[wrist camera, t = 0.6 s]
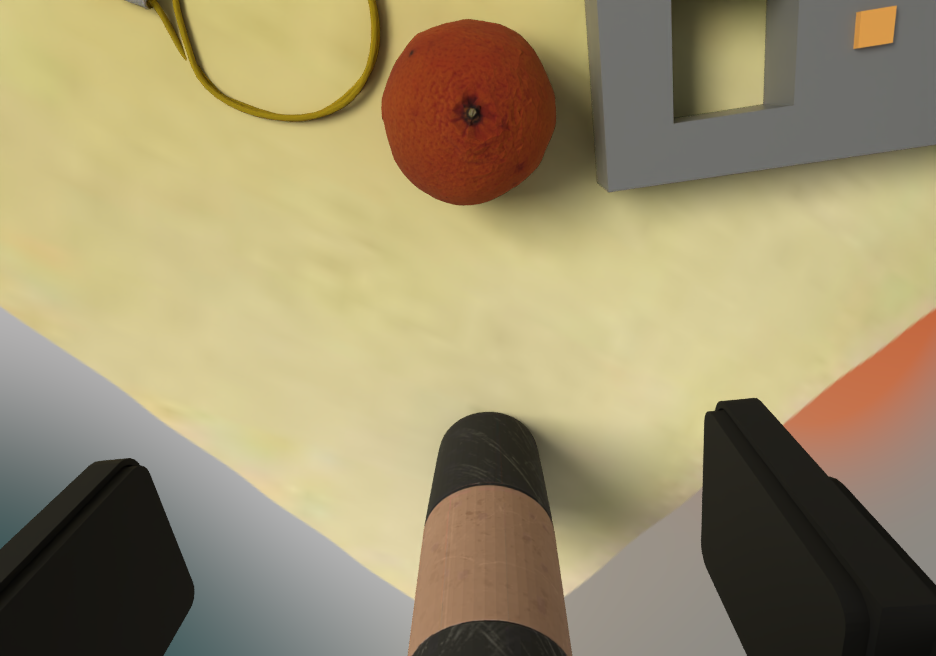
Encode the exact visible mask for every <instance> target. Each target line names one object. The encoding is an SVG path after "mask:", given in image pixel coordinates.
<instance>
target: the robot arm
mask: <svg viewBox="0 0 936 656" xmlns="http://www.w3.org/2000/svg"><path fill="white" fill-rule="evenodd" d="M701 548H702V554H703V559H704V563H705V565H706V568H707V570H708V573H709V575H710V577H711V579H712V581H713V583H714V586H715V588H716V590H717V592H718V594H719V596H720V598H721V601H722V603H723V605H724V607H725V609H726V611H727V613H728V615H729V618H730V620H731V622H732V624H733V626H734V628H735V631H736V633H737V635H738V637H739V639H740V641H741V643H742V646H743V648H744V650H745V652H746V654H747V656H936V585H935V584H934V583H933V581H932V580H930V578H929V577H928V576H927V575H926V574H925V573H924V572H923V571H922V570H921V568H920V567H919V566H918V565H917V564H916V563H915V562H914V561H913V560H912V559H911V558H910V557H909V555H908V554H907V553H906V552H905V551H904V550H903V549H902V548H901V547H900V545H899V544H898V543H897V542H896V541H895V540H894V539H893V538H892V537H891V536H890V535H889V533H888V532H887V531H886V530H885V529H884V528H883V527H882V526H881V525H880V524H879V523H878V521H877V520H876V519H875V518H874V517H873V516H872V515H871V514H870V513H869V512H868V511H867V509H866V508H865V507H864V506H863V505H862V504H861V503H860V502H859V501H858V500H857V499H856V498H855V496H854V495H853V494H852V493H851V492H850V491H849V490H848V489H847V488H846V487H845V486H844V485H843V484H842V483H841V482H840V481H838V480H837V479H835V478H832V477H828V476H827V474H826V473H825V472H824V471H823V470H822V469H821V468H820V467H819V466H818V464H817V463H816V462H815V461H814V460H813V459H812V458H811V457H810V455H809V454H808V453H807V452H806V451H805V450H804V449H803V448H802V447H801V445H800V444H799V443H798V442H797V441H796V440H795V439H794V438H793V436H791V434H790V433H789V432H788V431H787V430H786V429H785V428H784V426H783V425H782V424H781V423H780V422H779V421H778V420H777V419H776V417H775V416H774V415H773V414H772V413H771V412H770V411H769V410H768V409H767V407H766V406H765V405H764V404H763V403H762V402H761V401H760V400H759V399H757V398H749V399H739V400H728V401H719V402H718V403H717V405H716V408H715V411H709V412H707V413H706V415H705V420H704V454H703V493H702V532H701ZM193 600H194V585H193V581H192V579H191V576H190V574H189V572H188V569H187V566H186V564H185V561H184V559H183V556H182V554H181V551H180V549H179V546H178V544H177V541H176V538H175V536H174V534H173V531H172V528H171V526H170V523H169V521H168V518H167V516H166V513H165V511H164V508H163V506H162V503H161V501H160V498H159V496H158V493H157V490H156V488H155V485H154V483H153V481H152V478H151V476H150V473H149V471H148V470H147V468H145V467H144V466H140V465H139V463H138V462H137V461H135V460H134V459H131V458H126V459H115V460H106V461H98V462H94V463H93V464H91V465H90V466H88V467H87V468H86V469H85V470H84V471H83V472H82V473H81V474H80V475H79V476H78V477H77V478H76V479H75V480H74V481H72V482H71V483H70V484H69V485H68V486H67V487H66V488H65V489H64V490H63V491H62V492H61V493H60V494H59V495H58V496H57V497H55V498H54V499H53V500H52V501H51V502H50V503H49V504H48V505H47V506H46V507H45V508H44V509H43V510H42V511H41V512H40V513H39V514H37V515H36V516H35V517H34V518H33V519H32V520H31V521H30V522H29V523H28V524H27V525H26V526H25V527H24V528H22V529H21V530H20V531H19V532H18V533H17V534H16V535H15V536H14V537H13V538H12V539H11V540H10V541H9V542H8V543H7V544H5V545H4V546H3V547H2V548H1V549H0V656H163V655H164V654H165V652H166V650H167V648H168V647H169V645H170V643H171V641H172V640H173V638H174V636H175V634H176V633H177V631H178V629H179V627H180V626H181V624H182V622H183V620H184V619H185V617H186V615H187V614H188V611H189V610H190V608H191V606H192V603H193Z"/></svg>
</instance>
